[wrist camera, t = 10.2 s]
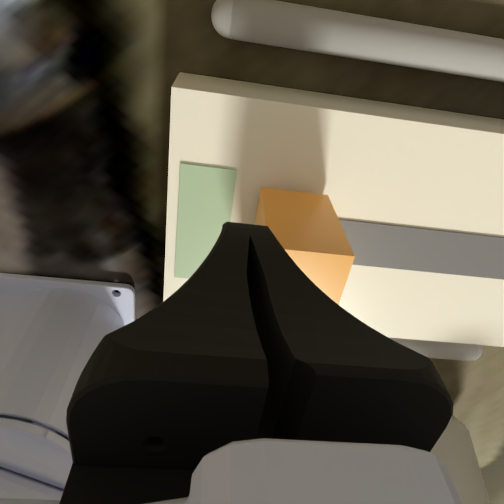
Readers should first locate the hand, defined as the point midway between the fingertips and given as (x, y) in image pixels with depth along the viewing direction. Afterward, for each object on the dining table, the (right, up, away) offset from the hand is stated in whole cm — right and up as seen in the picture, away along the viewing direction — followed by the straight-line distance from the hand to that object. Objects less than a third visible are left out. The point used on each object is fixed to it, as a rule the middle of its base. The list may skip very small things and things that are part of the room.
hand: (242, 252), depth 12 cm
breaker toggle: (+2, +1, +7) cm, 7 cm away
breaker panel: (+7, +2, +10) cm, 13 cm away
